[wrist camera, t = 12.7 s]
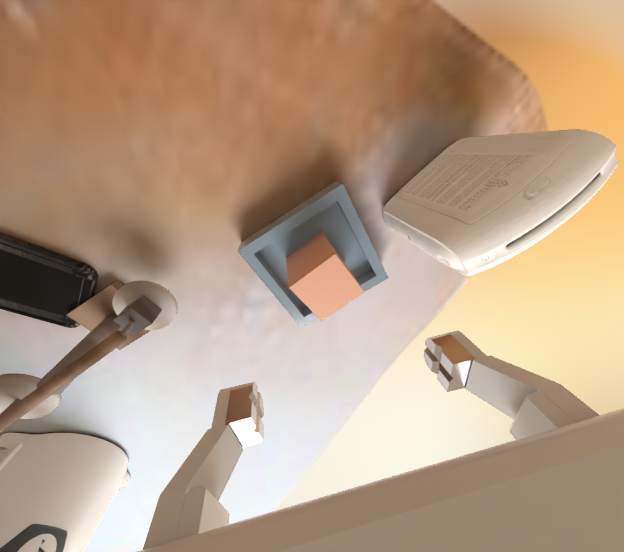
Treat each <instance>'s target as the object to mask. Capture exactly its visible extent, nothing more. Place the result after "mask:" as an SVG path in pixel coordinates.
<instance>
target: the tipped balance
mask: <svg viewBox="0 0 624 552" xmlns="http://www.w3.org/2000/svg"><path fill="white" fill-rule="evenodd" d="M177 308H178V307H177V302H176V299H175V298H174V296H173V295H172V294H171V293H170V292H169V291H168V290H167V289H166V288H164V287H163V286H161V285H159V284H156V283H153V282H149V281H133V282H130V283H127V284H125V285H123V284H122V283H120V282H119V281H118V280H116V281H115V282H113V283H112V284H110V285H109V286H107V287H106V288H105V289H103V290H102V291H100V292H99V293H97V294H96V295H94V296H93V297H91V298H90V299H89V300H87V301H86V302H85V303H83V304H81V305H80V306H78V307H77V308H76V309H74V310H73V311H71V312H70V313H68V314H67V316H69V317H70V318H72V319H73V320H75V321H76V322H78V323H79V324H81V325H82V326H84V327H85V328H87V329H88V330H90V331H91V332H90V333H89V334H88V335H87V336H86V337H85V338H84V339H83V340H82V341H81V342H80V343H79V344H78V345H77V346H76V347H74V348H73V349H72V350H71V351H70V352H69V353H68V354H67V355H66V356H65V357H64V358H63V359H62V360H61V361H60V362H59V363H58V364H57V365H56V366H55V367H54V368H53V369H52V370H50V371H49V372H48V373H47V374H46V375H45V376H44V377H43V378H42V379H40V378H37V377H34V376H30V375H25V374H3V375H0V433H1V432H2V431H3V430H5V429H6V428H7V427H9V426H10V425H12V424H13V423H14V422H16V421H17V420H18V419H35V418H41V417H44V416H47V415H49V414H50V413H51V412H52V411H53V410H54V409H55V408H56V407H57V406H58V405H59V403H60V401H61V395H60V393H62V392H63V391H64V389H65V388H66V387H67V386H68V385H69V384H70V383H71V382H72V381H73V379H74V378H76V377H77V376H78V375H80V374H81V373H83V372H84V371H85V370H87V369H88V368H89V367H91V366H92V365H93V364H95V363H96V362H98V361H99V360H100V359H102V358H103V357H104V356H106V355H107V354H108V353H110V352H111V351H113V350H114V349H115V348H117V349H119V350H121V349H122V348H124V347H125V346H127V345H129V344H130V343H132V342H133V341H135V340H137V339H138V338H140V337H141V336H143V335H145V334H146V333H148V332H149V331H151V330H155V329H160V328H163V327H165V326H167V325H168V324H170V323H171V322H172V320H173V319H174V317H175V315H176V313H177Z"/></svg>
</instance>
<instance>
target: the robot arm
mask: <svg viewBox="0 0 624 552" xmlns="http://www.w3.org/2000/svg"><path fill="white" fill-rule="evenodd" d="M425 345H426V346H427V348H426V350H425V351H424V357H425V362H426V364H427V366H428V367H429V368H430V370H431V371H432V372H434V373H436V374H438V375H437V376H438V378H437V379H438V380H439V382H440V383H441V384H442V386H443V387H444V388H445V390H446V391H447V392H449V391H453V390H457V389H461V388H465V389H467V390H468V391H470V392H471V393H473V394H474V395H476V396H478V397H479V398H481V399H482V400H484V401H486V402H487V403H489V404H490V405H492V406H493V407H495V408H497V409H498V410H500V411H502V412H503V413H505V414H506V415H508V416H509V417H511V418H513V419H514V421H513V423H512V425H511V427H510V433H511V434H512V435H513V436H514V438H515V439H516V440H515V441H512V442H508V443H505V444H501V445H498V446H495V447H491V448H488V449H485V450H481V451H477V452H474V453H471V454H467V455H464V456H460V457H457V458H454V459H451V460H447V461H443V462H440V463H437V464H433V465H430V466H427V467H424V468H420V469H417V470H413V471H410V472H406V473H403V474H400V475H396V476H392V477H389V478H386V479H382V480H379V481H375V482H372V483H369V484H365V485H362V486H358V487H355V488H352V489H348V490H345V491H341V492H338V493H335V494H331V495H328V496H325V497H321V498H318V499H314V500H311V501H308V502H304V503H301V504H298V505H294V506H291V507H287V508H284V509H280V510H277V511H274V512H270V513H267V514H263V515H260V516H257V517H253V518H250V519H246V520H243V521H240V522H236V523H233V524H230V525H228V522H229V513H228V511H227V510H226V509H225V508H224V507H223V506H222V505H221V504H220V503H219V502H218V500H219V498H220V496H221V494H222V492H223V490H224V488H225V486H226V484H227V482H228V480H229V478H230V476H231V474H232V472H233V469H234V467H235V465H236V463H237V461H238V459H239V457H240V455H241V453H242V451H243V448H244V447H247V446H251V445H254V444H257V443H261V442H263V423H262V421H261V418H262V417H263V415H264V408H263V400H262V396H261V394H260V392H257V385H256V383H255V382H253V383H248V384H244V385H239V386H235V387H231V388H226V389H222V390H220V392H219V394H218V398H217V403H216V408H215V413H214V418H213V423H212V428H211V429H209V430H207V431H206V433H205V434H204V436H203V437H202V438H201V440H200V441H199V442H198V444H197V445H196V447H195V448H194V449H193V451H192V452H191V453H190V455H189V456H188V458H187V459H186V460H185V462H184V463H183V464H182V466H181V467H180V469H179V470H178V471H177V473H176V474H175V475H174V477H173V478H172V480H171V481H170V482H169V484H168V485H167V486H166V488H165V489H164V491H163V492H162V493H161V495H160V497H159V500H158V503H157V506H156V510H155V513H154V516H153V519H152V522H151V526H150V529H149V532H148V535H147V538H146V541H145V545H144V548H143V550H141V551H138V552H624V409H621V410H617V411H614V412H610V413H607V414H603V415H598V414H597V413H596V412H595V411H593V410H592V409H591V408H590V407H588V406H587V405H586V404H585V403H583V402H582V401H581V400H579V399H578V398H577V397H576V396H574V395H573V394H572V393H571V392H569V391H568V390H567V389H565V388H564V387H563V386H562V385H560V384H558V383H556V382H554V381H551V380H549V379H546V378H544V377H541V376H539V375H536V374H534V373H532V372H529V371H527V370H524V369H521V368H519V367H517V366H514V365H512V364H509V363H507V362H504V361H502V360H500V359H497V358H495V357H492V356H486V355H485V354H484V353H483V352H482V351H481V350H480V349H479V348H477V346H475V345H474V344H473V343H472V342H471V341H470V340H469V339H468V338H467V337H466V336H465V335H463V334H462V333H461V332H459V331H454V332H451V333H447V334H442V335H438V336H435V337H431V338H427V339H426V342H425ZM127 466H128V458H127V456H126V454H125V453H124V452H123V451H122V450H121V449H120V448H119V447H117V446H116V445H114V444H112V443H110V442H108V441H106V440H103V439H100V438H97V437H93V436H88V435H83V434H75V433H49V434H34V435H33V434H23V433H5V434H2V435H1V436H0V552H82V551H83V550H84V549H85V548H86V547H87V546H88V544H89V542H90V540H91V539H92V537H93V535H94V533H95V531H96V529H97V528H98V526H99V524H100V522H101V520H102V518H103V517H104V515H105V513H106V511H107V509H108V507H109V505H110V504H111V502H112V500H113V498H114V496H115V494H116V492H117V490H120V489H122V488H125V487H126V486H127V485H128V483H129V481H130V479H131V477H130V475H129V473H128V472H127Z"/></svg>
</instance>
